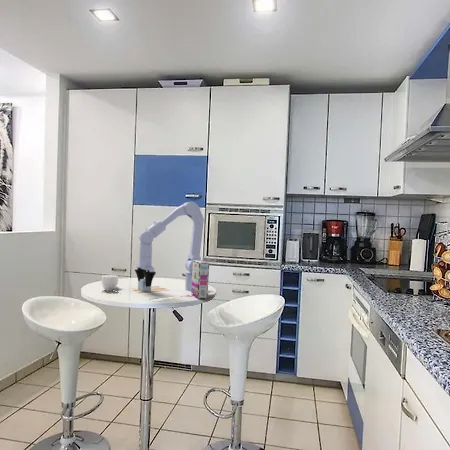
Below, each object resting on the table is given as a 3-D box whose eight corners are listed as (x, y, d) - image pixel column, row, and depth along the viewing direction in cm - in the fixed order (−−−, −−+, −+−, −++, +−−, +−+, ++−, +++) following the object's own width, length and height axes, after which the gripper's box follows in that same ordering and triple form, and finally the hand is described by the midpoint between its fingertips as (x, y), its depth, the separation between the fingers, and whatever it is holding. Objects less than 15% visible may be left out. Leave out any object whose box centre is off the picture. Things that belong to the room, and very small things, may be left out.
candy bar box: (208, 298, 177) (209, 262, 177) (197, 299, 175) (199, 262, 175) (200, 294, 188) (202, 259, 187) (190, 294, 186) (192, 259, 186)
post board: (169, 292, 189) (170, 290, 189) (139, 295, 179) (139, 293, 179) (158, 288, 199) (158, 286, 199) (128, 290, 189) (128, 288, 189)
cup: (98, 290, 186) (98, 276, 186) (107, 287, 196) (107, 273, 196) (114, 291, 185) (114, 277, 185) (122, 288, 195) (122, 274, 195)
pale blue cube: (151, 290, 186) (151, 279, 186) (142, 291, 183) (142, 280, 183) (146, 288, 190) (147, 278, 189) (137, 289, 187) (138, 279, 187)
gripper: (131, 255, 189) (130, 283, 189) (144, 258, 178) (143, 288, 178) (144, 255, 194) (143, 282, 194) (158, 258, 182) (157, 287, 182)
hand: (144, 285), depth 186 cm, fingers open, 7 cm apart
